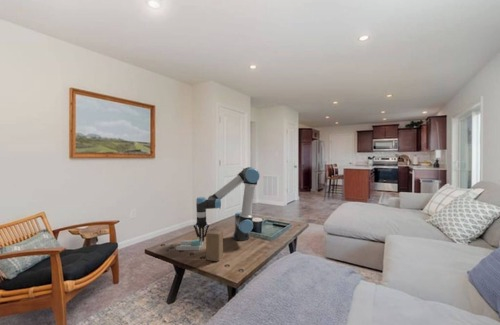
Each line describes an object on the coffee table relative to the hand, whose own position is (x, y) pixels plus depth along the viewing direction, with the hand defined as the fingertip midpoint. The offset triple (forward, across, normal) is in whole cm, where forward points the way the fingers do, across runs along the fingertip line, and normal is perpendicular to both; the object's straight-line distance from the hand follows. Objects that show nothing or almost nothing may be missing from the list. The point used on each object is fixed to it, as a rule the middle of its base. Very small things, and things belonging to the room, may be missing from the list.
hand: (201, 245), depth 185 cm
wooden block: (+3, -13, +18) cm, 22 cm away
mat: (+2, +23, 0) cm, 23 cm away
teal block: (+2, +5, 0) cm, 5 cm away
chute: (+2, +10, 0) cm, 10 cm away
